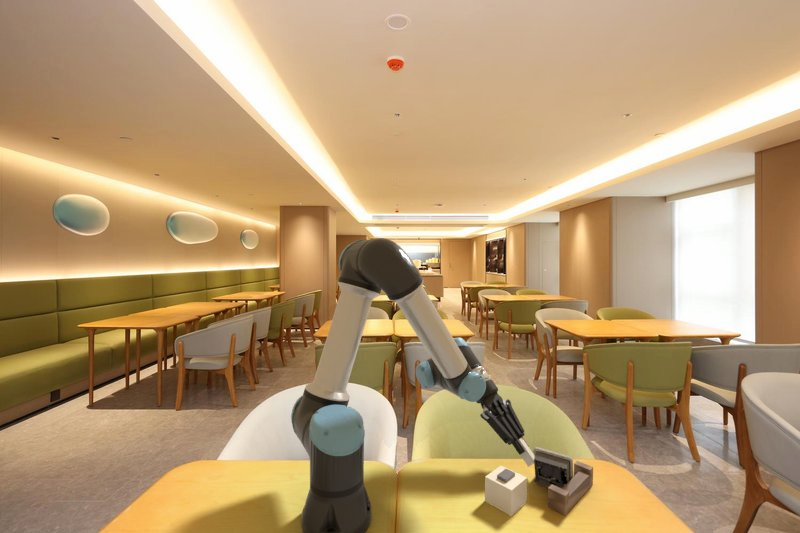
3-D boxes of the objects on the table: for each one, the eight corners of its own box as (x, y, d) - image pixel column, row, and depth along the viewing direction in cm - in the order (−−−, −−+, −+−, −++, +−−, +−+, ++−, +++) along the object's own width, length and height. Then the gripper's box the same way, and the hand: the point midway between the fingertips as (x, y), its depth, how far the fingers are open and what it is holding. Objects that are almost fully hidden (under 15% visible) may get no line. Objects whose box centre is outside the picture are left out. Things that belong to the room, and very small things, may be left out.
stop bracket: (547, 506, 86) (548, 487, 86) (576, 477, 97) (577, 460, 97) (565, 515, 83) (565, 495, 83) (592, 484, 95) (593, 466, 94)
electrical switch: (574, 487, 93) (574, 453, 92) (570, 500, 89) (570, 464, 88) (536, 475, 98) (535, 442, 97) (530, 487, 94) (530, 453, 93)
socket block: (484, 501, 88) (485, 473, 88) (500, 489, 93) (501, 462, 92) (511, 516, 83) (511, 486, 83) (526, 502, 87) (527, 474, 87)
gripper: (475, 383, 103) (530, 467, 91) (500, 373, 112) (553, 449, 100) (459, 397, 107) (511, 479, 95) (485, 386, 116) (534, 460, 104)
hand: (532, 463), depth 97 cm, fingers closed
